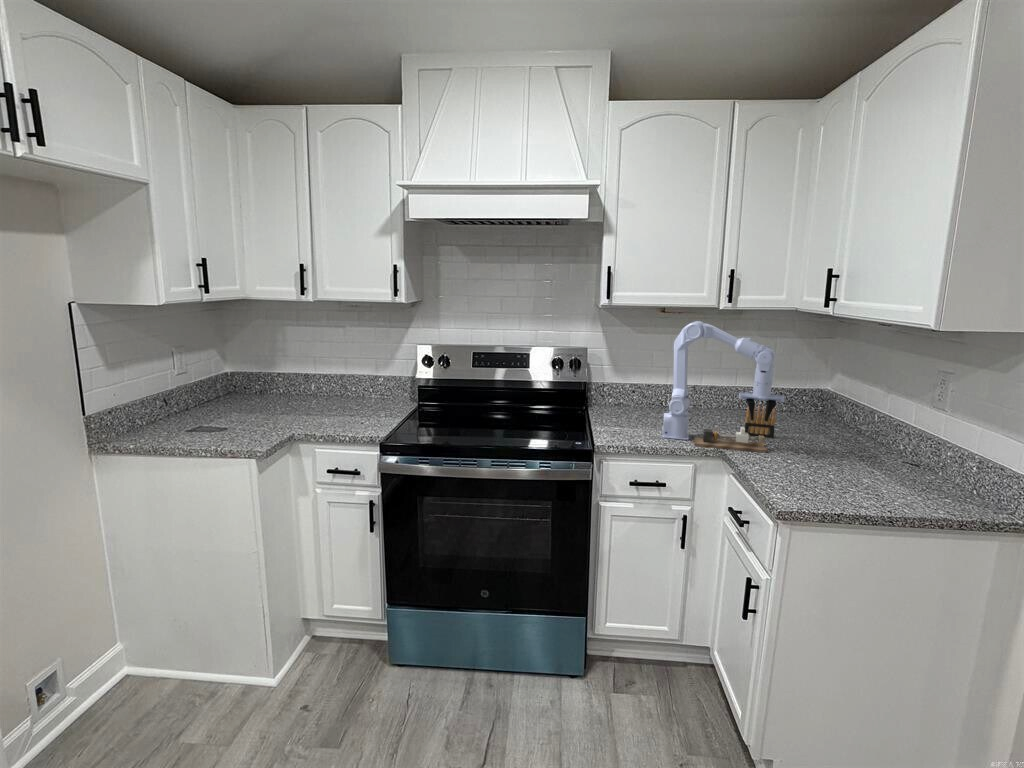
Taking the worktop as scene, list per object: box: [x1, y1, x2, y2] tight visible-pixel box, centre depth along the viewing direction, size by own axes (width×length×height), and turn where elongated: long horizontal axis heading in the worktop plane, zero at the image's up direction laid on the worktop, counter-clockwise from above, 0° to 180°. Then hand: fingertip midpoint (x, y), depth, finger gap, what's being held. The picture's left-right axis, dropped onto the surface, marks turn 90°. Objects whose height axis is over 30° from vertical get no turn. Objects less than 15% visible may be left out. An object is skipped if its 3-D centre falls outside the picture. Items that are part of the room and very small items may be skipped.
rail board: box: [693, 428, 768, 454], centre depth 200 cm, size 24×9×5 cm, turn 74°
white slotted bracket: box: [734, 426, 750, 443], centre depth 198 cm, size 4×3×5 cm
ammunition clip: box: [743, 405, 776, 439], centre depth 212 cm, size 11×2×12 cm, turn 70°
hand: (758, 420), depth 196 cm, fingers open, 4 cm apart
